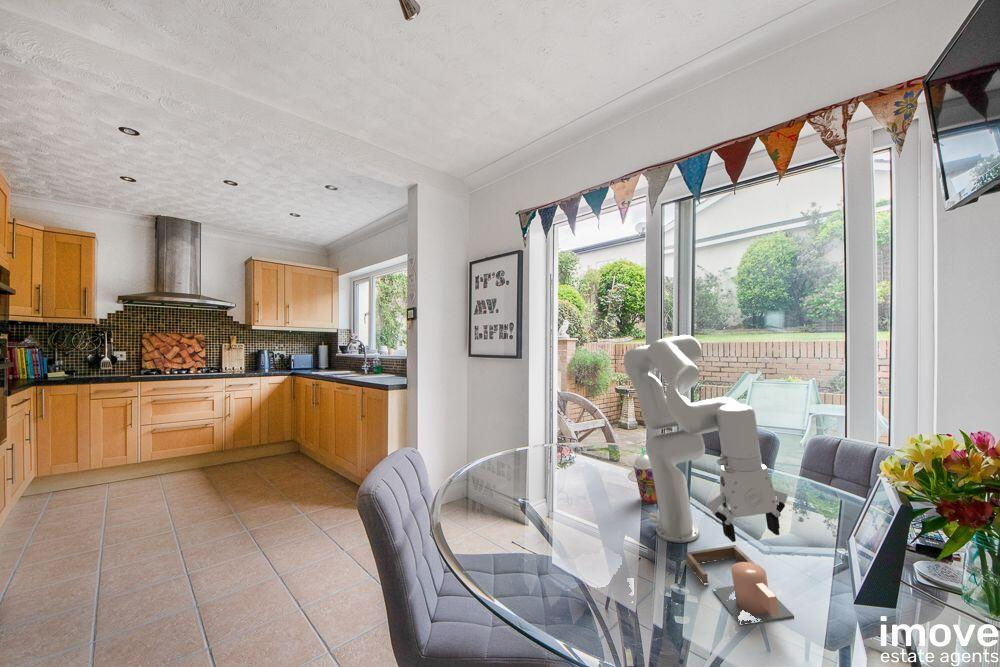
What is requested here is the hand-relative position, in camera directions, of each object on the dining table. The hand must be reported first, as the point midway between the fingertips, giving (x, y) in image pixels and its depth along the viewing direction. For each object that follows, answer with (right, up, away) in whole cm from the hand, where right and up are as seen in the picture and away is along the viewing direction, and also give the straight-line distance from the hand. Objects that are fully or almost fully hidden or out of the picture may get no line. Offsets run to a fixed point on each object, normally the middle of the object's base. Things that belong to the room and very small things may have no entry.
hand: (752, 535), depth 93 cm
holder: (+3, -18, +18) cm, 25 cm away
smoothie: (0, -17, +63) cm, 65 cm away
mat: (+3, -18, +5) cm, 19 cm away
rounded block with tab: (+3, -18, +1) cm, 18 cm away
